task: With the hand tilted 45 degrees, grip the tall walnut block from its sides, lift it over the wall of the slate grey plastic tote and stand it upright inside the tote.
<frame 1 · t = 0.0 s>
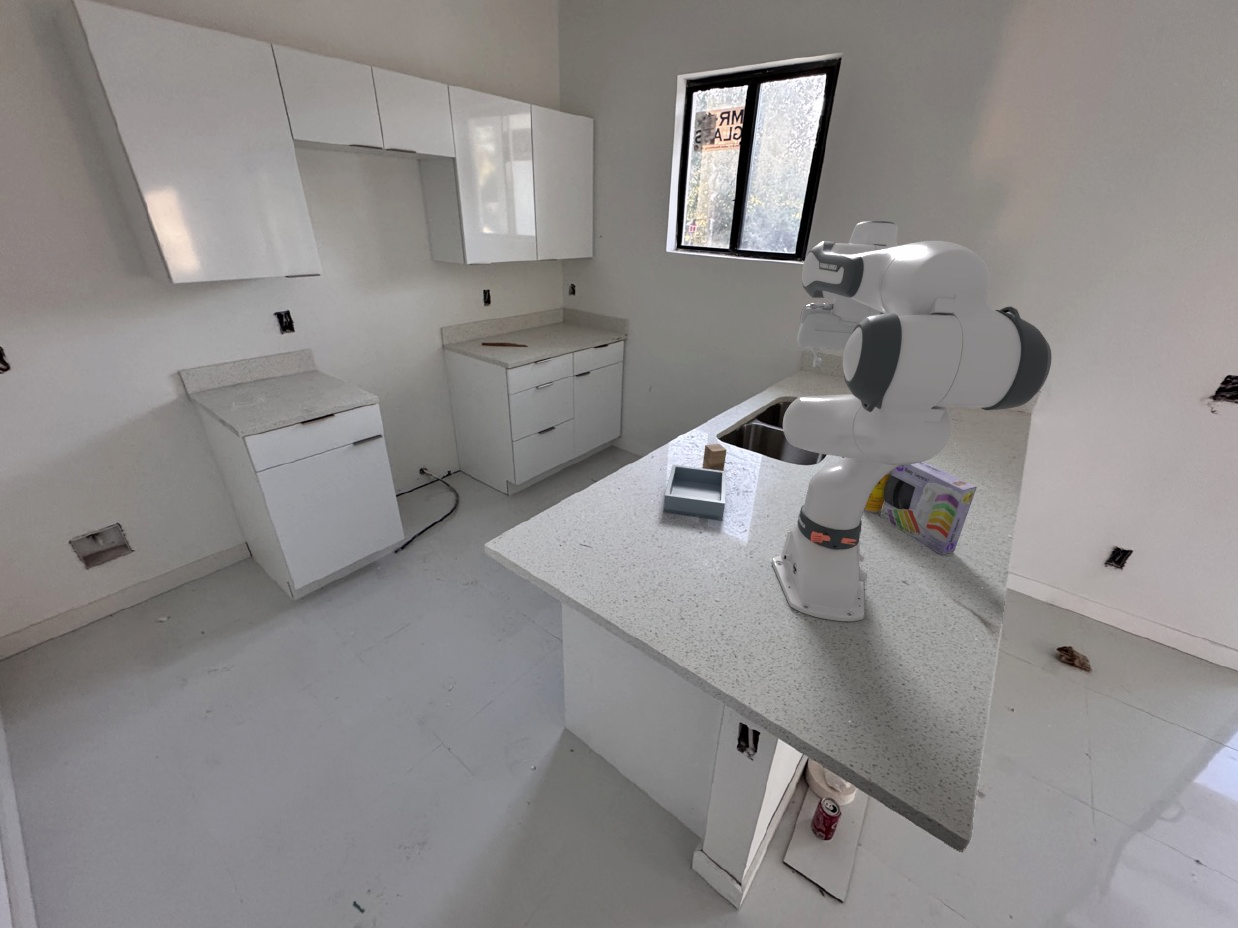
hand: (838, 368, 111), 39 cm above the counter, tool pointing down, fingers open, 8 cm apart
tote: (695, 498, 134), on the counter
walnut block: (712, 471, 149), on the counter
cake pan box: (912, 533, 123), on the counter
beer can: (868, 508, 133), on the counter
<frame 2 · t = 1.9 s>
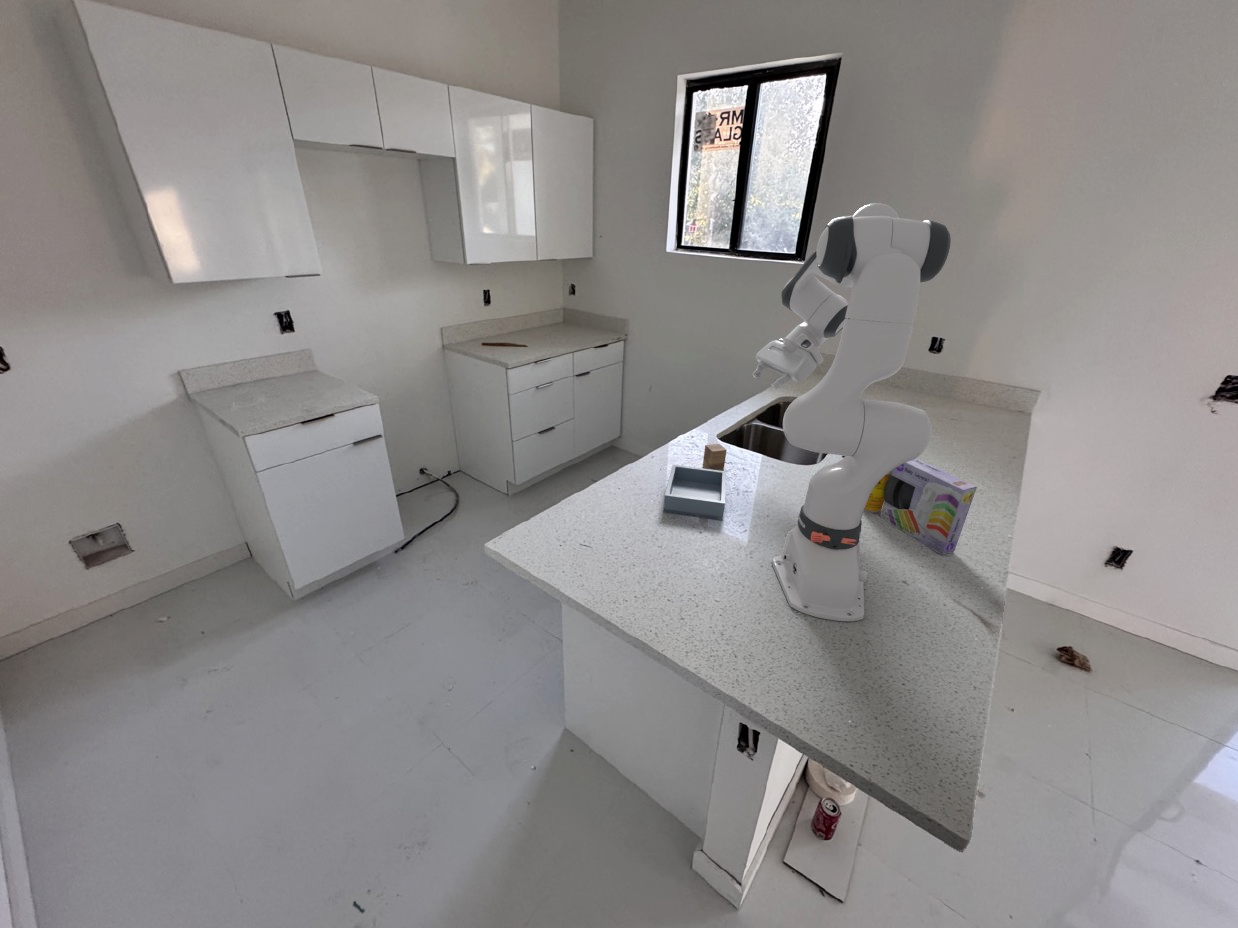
hand: (763, 381, 141), 27 cm above the counter, tool tilted 45°, fingers open, 8 cm apart
nothing on the counter moved.
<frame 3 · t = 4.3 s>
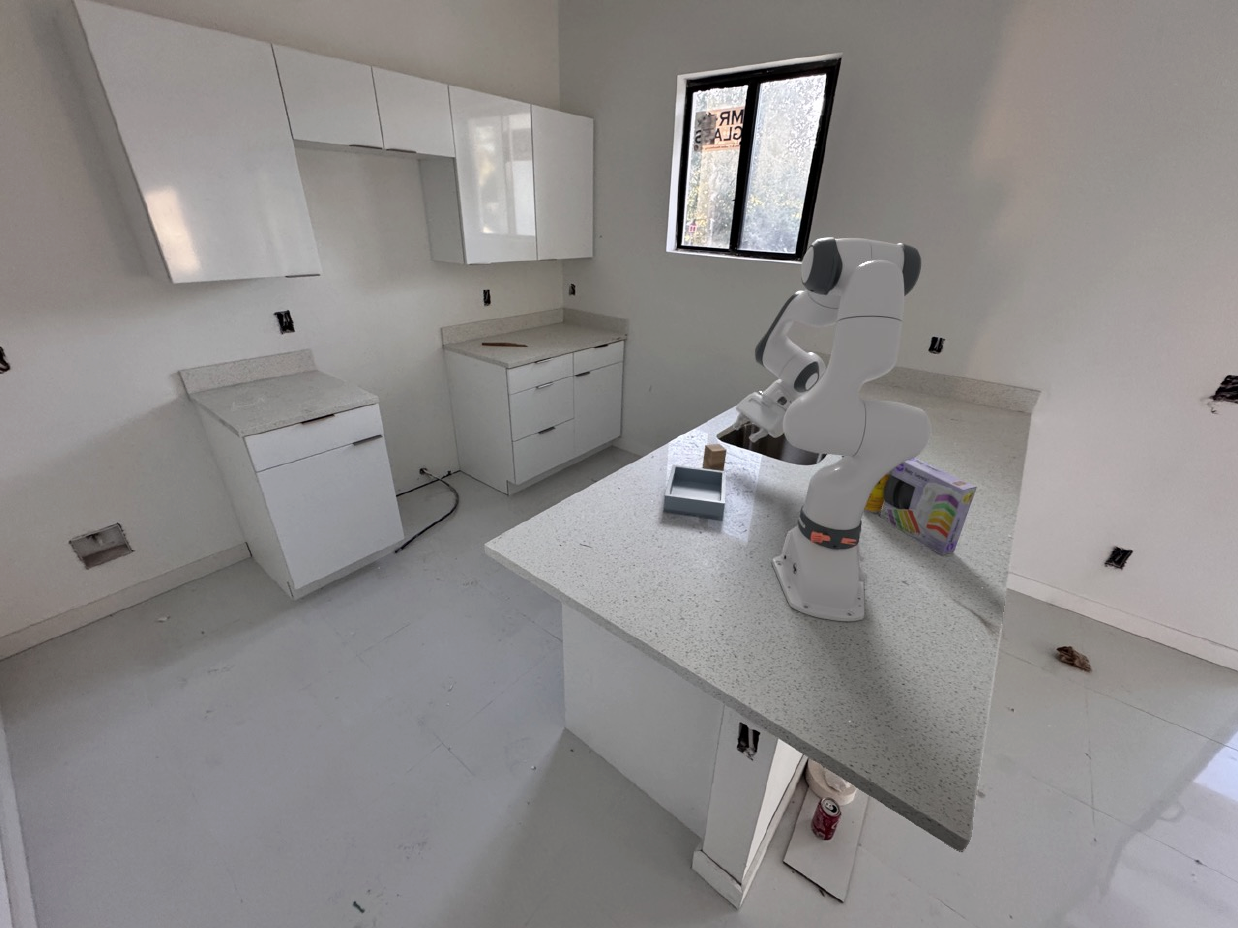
hand: (742, 434, 146), 11 cm above the counter, tool tilted 45°, fingers open, 8 cm apart
nothing on the counter moved.
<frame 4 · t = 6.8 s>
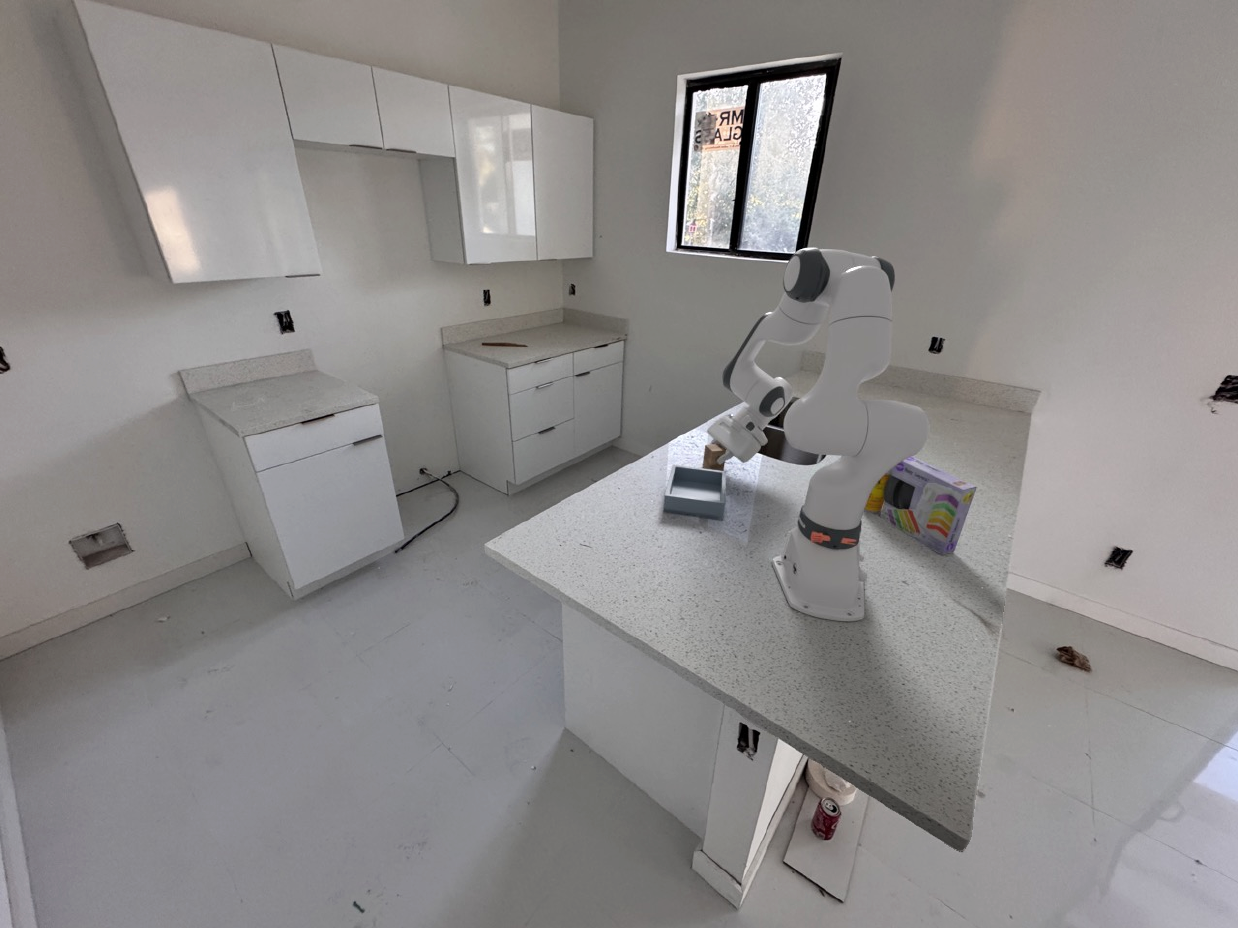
hand: (712, 458, 147), 5 cm above the counter, tool tilted 45°, fingers closed on walnut block, 5 cm apart
walnut block: (712, 471, 149), on the counter, touching gripper
everything else where it was.
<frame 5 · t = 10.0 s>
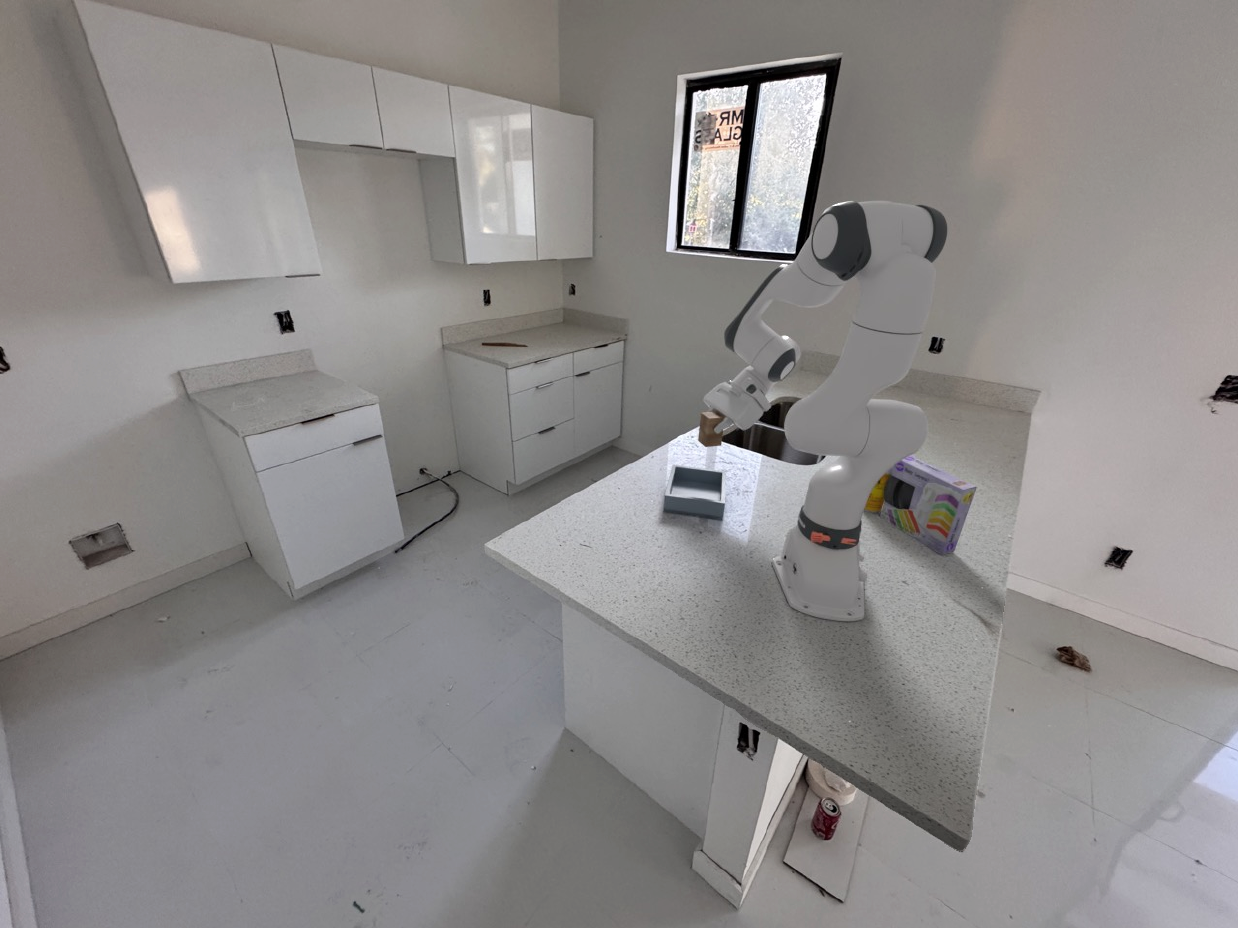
hand: (709, 427, 131), 18 cm above the counter, tool tilted 45°, fingers closed on walnut block, 5 cm apart
walnut block: (709, 443, 133), point 14 cm above the counter, touching gripper
everything else where it was.
when the fingers open (7 cm above the counter, at t = 13.3 s): walnut block drops 1 cm, resting on tote.
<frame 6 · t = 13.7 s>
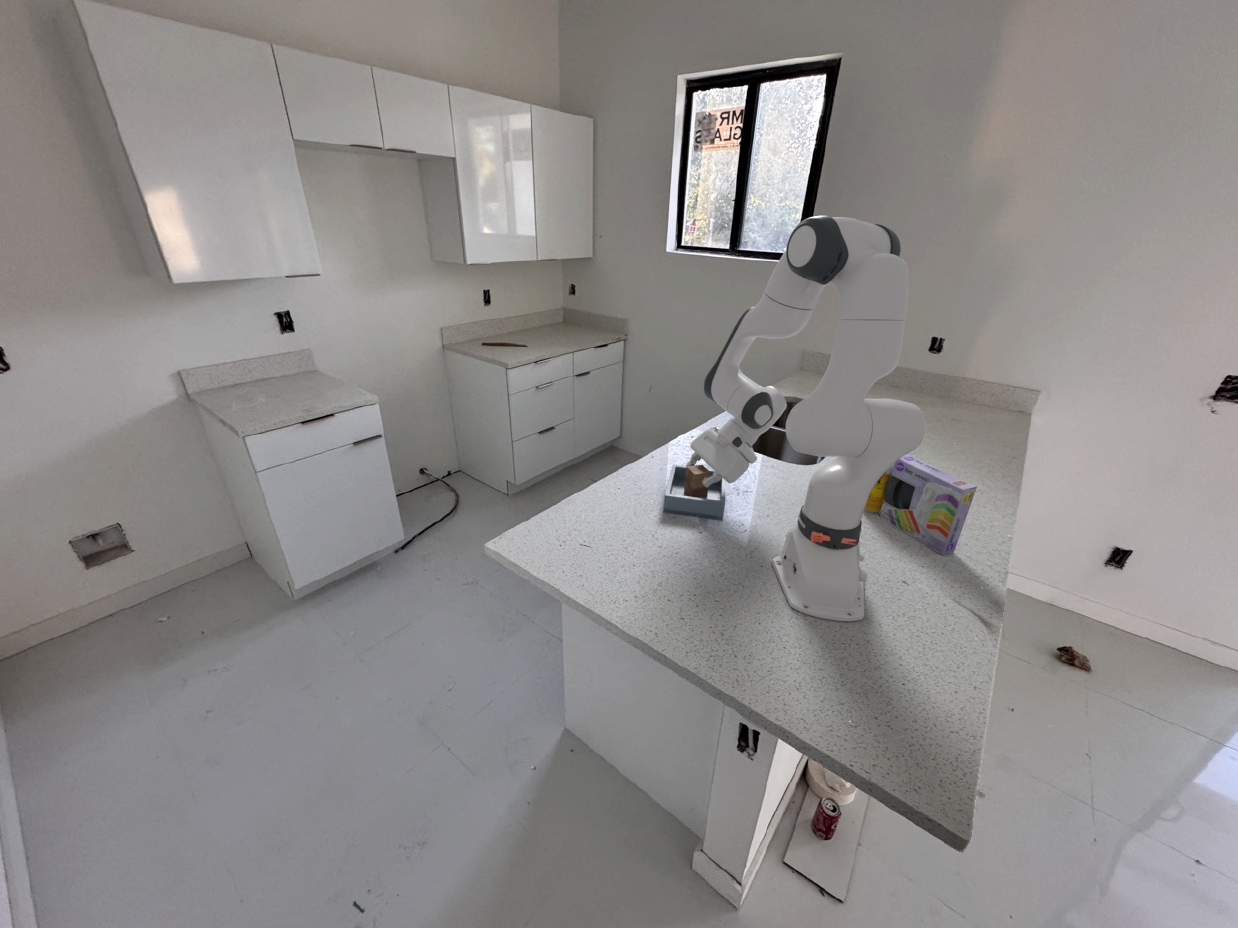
hand: (695, 476, 131), 7 cm above the counter, tool tilted 45°, fingers open, 8 cm apart
walnut block: (695, 495, 133), point 1 cm above the counter, touching tote
everything else where it was.
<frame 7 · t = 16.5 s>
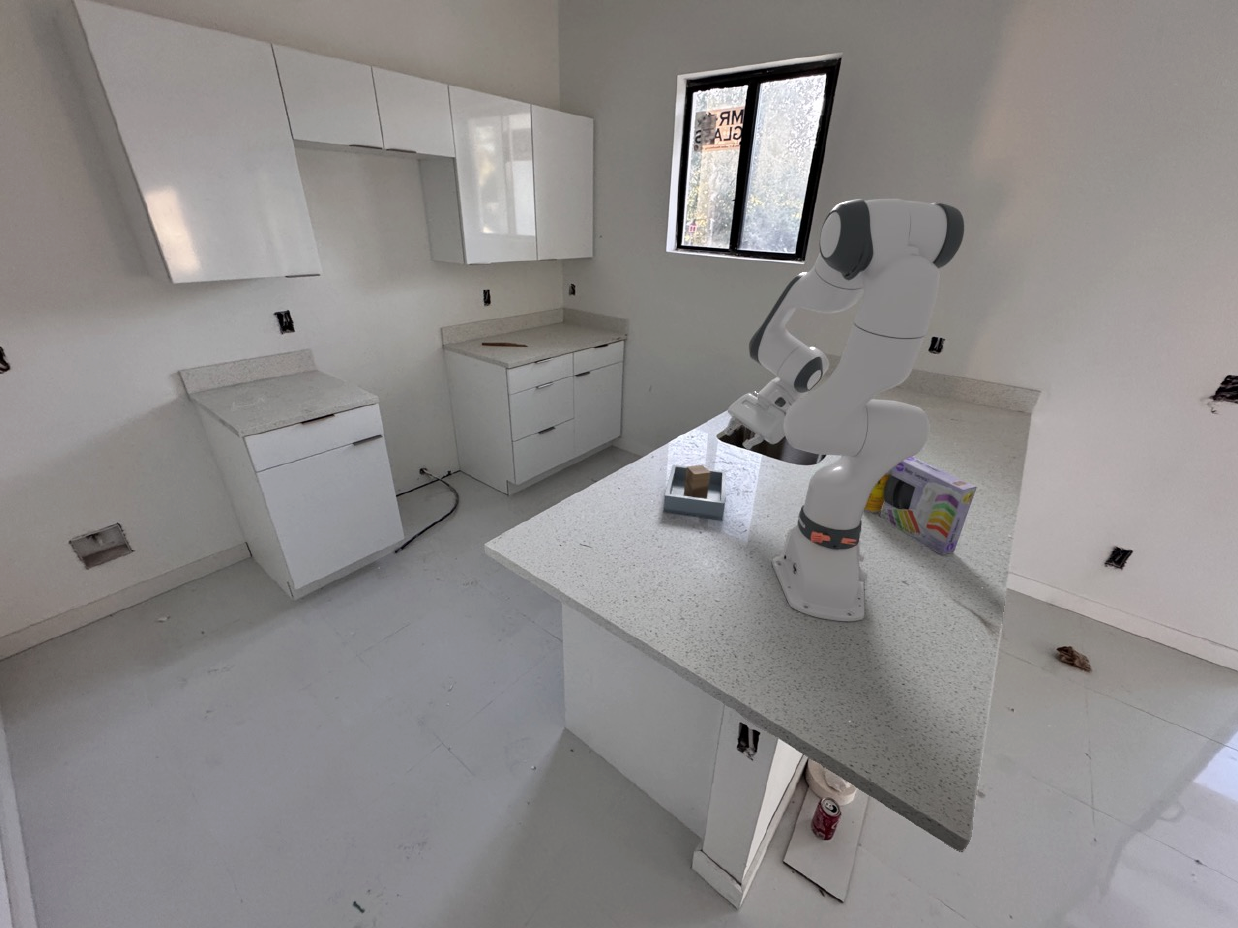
hand: (735, 440, 129), 17 cm above the counter, tool tilted 45°, fingers open, 8 cm apart
nothing on the counter moved.
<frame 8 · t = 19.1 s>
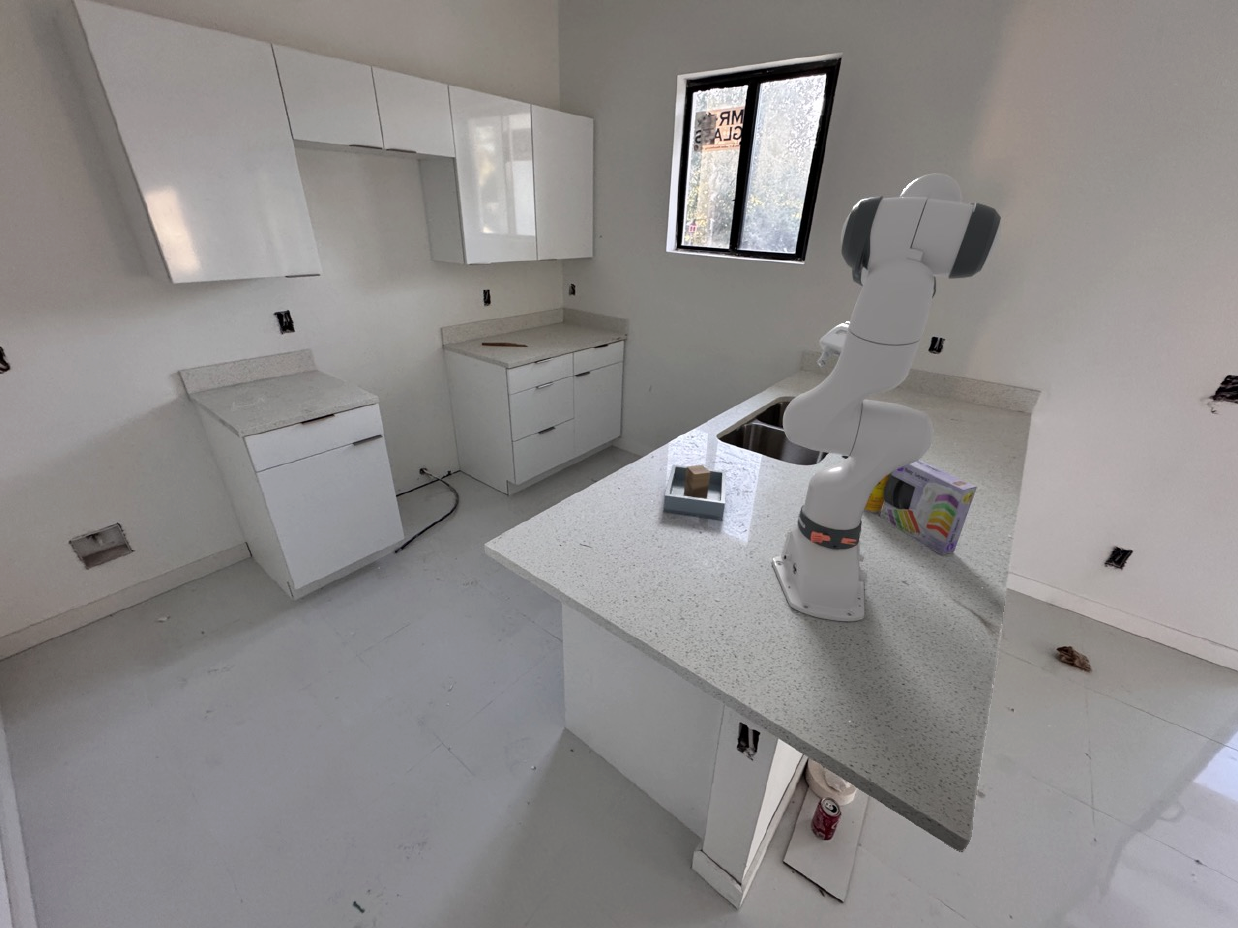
hand: (831, 369, 124), 35 cm above the counter, tool tilted 45°, fingers open, 8 cm apart
nothing on the counter moved.
at the end: walnut block inside the target area on the tote (0.1 cm from its centre), point 1.0 cm above the tote's base; walnut block tilted 0°; the gripper is holding nothing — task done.
